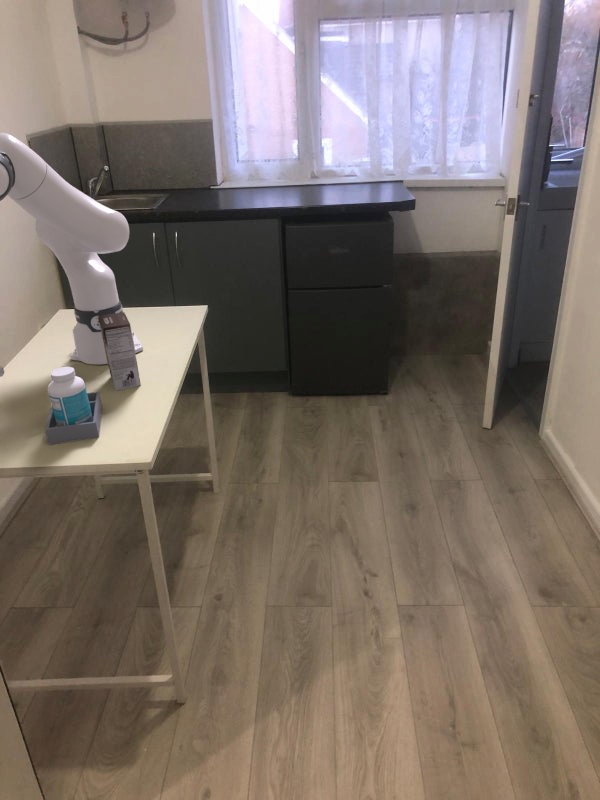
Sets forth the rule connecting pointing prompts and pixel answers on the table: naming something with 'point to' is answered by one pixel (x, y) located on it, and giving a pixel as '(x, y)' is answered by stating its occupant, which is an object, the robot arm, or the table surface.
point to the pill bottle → (69, 398)
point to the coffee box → (119, 350)
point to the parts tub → (76, 430)
